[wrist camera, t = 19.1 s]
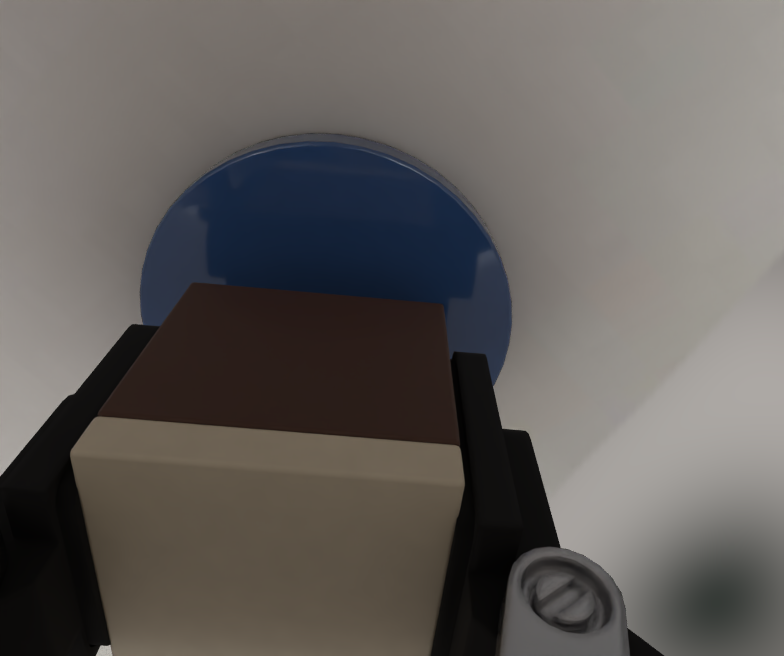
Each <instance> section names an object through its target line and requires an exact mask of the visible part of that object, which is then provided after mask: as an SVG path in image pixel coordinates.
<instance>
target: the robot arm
mask: <svg viewBox="0 0 784 656" xmlns="http://www.w3.org/2000/svg"><path fill="white" fill-rule="evenodd" d="M159 327H160V326H150V325H138V324H132V325H131V326H130V327H129V328H128V329H127V330H126V331H125V332H124V334H123V335H122V336H121V337H120V339H119V340H118V341H117V342H116V344H115V345H114V346H113V347H112V348H111V350H110V351H109V352H108V353H107V355H106V356H105V357H104V358H103V360H102V361H101V362H100V363H99V364H98V366H97V367H96V368H95V369H94V371H93V372H92V373H91V374H90V376H89V377H88V378H87V379H86V380H85V382H84V383H83V384H82V385H81V387H80V388H79V389H78V390H77V392H76V393H75V394H73V395H69V396H68V397H67V398H66V399H65V400H63V401H62V403H61V404H60V405H59V406H58V407H57V409H56V410H55V411H54V412H53V413H52V415H51V416H50V417H49V418H48V419H47V421H46V422H45V423H44V424H43V426H42V427H41V428H40V429H39V430H38V432H37V433H36V434H35V435H34V436H33V438H32V439H31V440H30V441H29V442H28V444H27V445H26V446H25V447H24V449H23V450H22V451H21V452H20V453H19V455H18V456H17V457H16V458H15V459H14V461H13V462H12V463H11V464H10V465H9V467H8V468H7V469H6V470H5V472H4V473H3V474H2V475H1V476H0V656H96V654H97V652H98V650H99V648H100V645H103V646H108V645H110V644H111V643H110V638H109V634H108V629H107V624H106V620H105V615H104V610H103V605H102V601H101V596H100V591H99V587H98V582H97V577H96V573H95V568H94V563H93V559H92V554H91V549H90V545H89V540H88V535H87V531H86V526H85V521H84V516H83V512H82V507H81V502H80V498H79V493H78V488H77V486H76V481H75V477H74V472H73V467H72V463H71V458H70V452H71V450H72V448H73V447H74V445H75V444H76V443H77V441H78V440H79V438H80V437H81V436H82V434H83V433H84V431H85V430H86V429H87V427H88V426H89V425H90V423H91V422H92V420H93V419H94V418H96V417H98V412H99V410H100V409H101V408H102V406H103V405H104V403H105V402H106V401H107V399H108V398H109V397H110V395H111V394H112V392H113V391H114V390H115V388H116V387H117V385H118V384H119V383H120V381H121V380H122V379H123V377H124V376H125V374H126V373H127V372H128V370H129V369H130V367H131V366H132V365H133V363H134V362H135V361H136V359H137V358H138V356H139V355H140V354H141V352H142V351H143V349H144V348H145V347H146V345H147V344H148V343H149V341H150V340H151V338H152V337H153V336H154V334H155V333H156V331H157V330H158V329H159ZM450 363H451V371H452V379H453V388H454V396H455V404H456V413H457V421H458V429H459V438H460V450H461V455H462V464H463V472H464V480H465V487H464V492H463V497H462V502H461V507H460V513H459V515H458V518H457V520H456V525H455V531H454V536H453V541H452V546H451V552H450V557H449V562H448V567H447V573H446V578H445V583H444V588H443V594H442V599H441V604H440V609H439V615H438V620H437V625H436V630H435V636H434V641H433V646H432V651H431V656H664V655H662V654H661V653H660V652H659V651H657V650H656V649H655V648H653V647H652V646H650V645H649V644H648V643H647V642H645V641H644V640H643V639H641V638H640V637H639V636H637V635H636V634H635V633H633V632H632V631H631V630H629V629H628V628H627V619H626V608H625V605H624V601H623V597H622V594H621V591H620V590H619V588H618V586H617V585H616V584H615V582H614V580H613V578H612V577H611V576H610V575H609V574H608V573H607V572H606V571H604V569H603V568H602V567H601V566H600V565H598V564H597V563H595V562H593V561H592V560H590V559H589V558H587V557H586V556H584V555H582V554H579V553H576V552H574V551H571V550H568V549H563V548H560V544H559V541H558V537H557V533H556V530H555V526H554V522H553V518H552V515H551V511H550V507H549V504H548V500H547V497H546V493H545V489H544V486H543V482H542V478H541V475H540V471H539V467H538V464H537V460H536V457H535V453H534V449H533V446H532V442H531V439H530V436H529V434H528V433H527V432H526V431H521V430H509V429H502V426H501V421H500V417H499V412H498V407H497V403H496V398H495V394H494V389H493V384H492V380H491V375H490V370H489V366H488V361H487V357H486V354H480V353H468V352H457V351H454V353H453V356H452V359H450Z"/></svg>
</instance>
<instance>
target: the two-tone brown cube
mask: <svg viewBox="0 0 784 656" xmlns="http://www.w3.org/2000/svg"><path fill="white" fill-rule="evenodd" d="M70 458H71V463H72V467H73V472H74V477H75V481H76V486H77V488H78V493H79V498H80V502H81V507H82V512H83V516H84V521H85V526H86V531H87V535H88V540H89V545H90V549H91V554H92V559H93V563H94V568H95V573H96V577H97V582H98V587H99V591H100V596H101V601H102V605H103V610H104V615H105V620H106V624H107V629H108V634H109V638H110V643H111V644H110V645H111V650H112V654H113V656H431V651H432V646H433V641H434V636H435V630H436V625H437V620H438V615H439V609H440V604H441V599H442V594H443V588H444V583H445V578H446V573H447V567H448V562H449V557H450V552H451V546H452V541H453V536H454V531H455V525H456V520H457V518H458V515H459V513H460V507H461V502H462V497H463V492H464V487H465V480H464V472H463V464H462V455H461V450H460V438H459V429H458V421H457V413H456V404H455V396H454V388H453V379H452V371H451V363H450V354H449V346H448V338H447V329H446V321H445V313H444V306H443V305H442V304H439V303H427V302H416V301H404V300H393V299H381V298H370V297H358V296H346V295H335V294H323V293H312V292H300V291H289V290H277V289H266V288H254V287H243V286H231V285H220V284H208V283H197V282H194V283H191V284H190V286H189V287H188V289H187V290H186V291H185V293H184V294H183V295H182V297H181V298H180V300H179V301H178V302H177V304H176V305H175V307H174V308H173V309H172V311H171V312H170V313H169V315H168V316H167V318H166V319H165V320H164V322H163V323H162V325H161V326H160V327H159V329H158V330H157V331H156V333H155V334H154V336H153V337H152V338H151V340H150V341H149V343H148V344H147V345H146V347H145V348H144V349H143V351H142V352H141V354H140V355H139V356H138V358H137V359H136V361H135V362H134V363H133V365H132V366H131V367H130V369H129V370H128V372H127V373H126V374H125V376H124V377H123V379H122V380H121V381H120V383H119V384H118V385H117V387H116V388H115V390H114V391H113V392H112V394H111V395H110V397H109V398H108V399H107V401H106V402H105V403H104V405H103V406H102V408H101V409H100V410H99V412H98V417H96V418H94V419H93V420H92V422H91V423H90V425H89V426H88V427H87V429H86V430H85V431H84V433H83V434H82V436H81V437H80V438H79V440H78V441H77V443H76V444H75V445H74V447H73V448H72V450H71V452H70Z"/></svg>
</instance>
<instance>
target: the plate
mask: <svg viewBox="0 0 784 656" xmlns="http://www.w3.org/2000/svg"><path fill="white" fill-rule="evenodd" d="M194 282H197V283H208V284H220V285H231V286H243V287H254V288H266V289H277V290H289V291H300V292H312V293H323V294H335V295H346V296H358V297H370V298H381V299H393V300H404V301H416V302H427V303H439V304H442V305H443V306H444V313H445V321H446V329H447V338H448V346H449V354H450V359H452V356H453V353H454V351H457V352H468V353H480V354H486V357H487V361H488V366H489V370H490V375H491V380H492V384H493V386H494V384H495V382H496V380H497V378H498V376H499V374H500V371H501V369H502V367H503V365H504V361H505V358H506V354H507V351H508V347H509V343H510V336H511V328H512V301H511V295H510V289H509V283H508V278H507V275H506V272H505V269H504V266H503V263H502V260H501V257H500V254H499V251H498V248H497V246H496V244H495V242H494V240H493V238H492V236H491V234H490V232H489V230H488V228H487V226H486V224H485V223H484V221H483V220H482V218H481V217H480V215H479V214H478V212H477V211H476V209H475V208H474V207H473V205H472V204H471V203H470V202H469V201H468V200H467V199H466V198H465V196H464V195H463V194H462V193H461V192H460V191H459V190H458V189H457V188H456V187H455V186H454V185H453V184H451V183H450V182H449V181H448V180H447V179H445V178H444V177H443V176H442V175H441V174H439V173H438V172H437V171H436V170H434V169H432V168H431V167H429V166H428V165H426V164H424V163H423V162H421V161H420V160H418V159H416V158H415V157H413V156H410V155H408V154H406V153H404V152H402V151H399V150H397V149H395V148H393V147H391V146H388V145H384V144H381V143H378V142H374V141H371V140H368V139H364V138H358V137H352V136H346V135H339V134H301V135H292V136H284V137H280V138H276V139H272V140H268V141H264V142H260V143H257V144H255V145H252V146H250V147H247V148H245V149H243V150H240V151H238V152H235V153H234V154H232V155H230V156H229V157H227V158H225V159H224V160H222V161H220V162H218V163H217V164H215V165H214V166H212V167H211V168H210V169H209V170H208V171H206V172H205V173H204V174H203V175H201V176H200V177H199V178H198V179H197V180H195V181H194V182H193V183H192V184H191V185H190V186H189V187H188V188H187V189H186V190H185V191H184V192H183V193H182V194H181V195H180V196H179V198H178V199H177V200H176V201H175V202H174V203H173V204H172V205H171V206H170V208H169V209H168V211H167V212H166V214H165V215H164V217H163V218H162V220H161V222H160V223H159V225H158V226H157V228H156V230H155V233H154V235H153V237H152V239H151V242H150V244H149V246H148V249H147V252H146V256H145V260H144V264H143V268H142V275H141V284H140V305H141V317H142V322H143V325H150V326H161V325H162V323H163V322H164V320H165V319H166V318H167V316H168V315H169V313H170V312H171V311H172V309H173V308H174V307H175V305H176V304H177V302H178V301H179V300H180V298H181V297H182V295H183V294H184V293H185V291H186V290H187V289H188V287H189V286H190V284H191V283H194Z"/></svg>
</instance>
